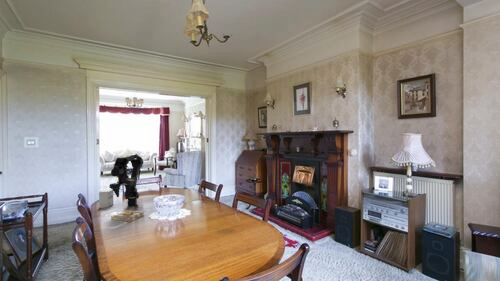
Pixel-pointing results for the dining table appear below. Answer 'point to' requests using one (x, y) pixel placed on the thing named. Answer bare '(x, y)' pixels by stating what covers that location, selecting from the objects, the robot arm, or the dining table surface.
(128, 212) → the gold cylinder
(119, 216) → the hole deck
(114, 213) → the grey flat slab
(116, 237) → the dining table surface
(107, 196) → the supplement box
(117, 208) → the dining table surface
